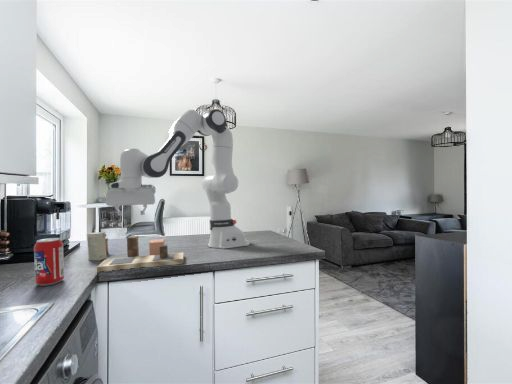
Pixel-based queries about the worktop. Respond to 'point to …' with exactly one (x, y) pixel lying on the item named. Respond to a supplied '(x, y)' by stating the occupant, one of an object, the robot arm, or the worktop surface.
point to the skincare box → (96, 246)
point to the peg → (132, 246)
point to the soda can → (48, 261)
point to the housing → (155, 246)
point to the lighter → (106, 244)
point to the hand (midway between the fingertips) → (131, 215)
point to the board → (145, 261)
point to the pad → (122, 260)
